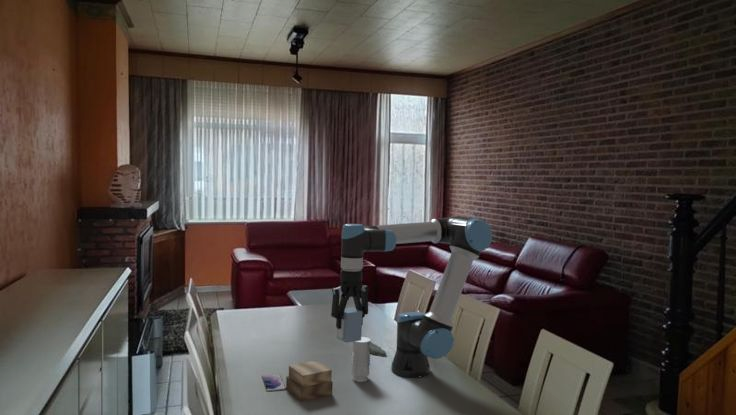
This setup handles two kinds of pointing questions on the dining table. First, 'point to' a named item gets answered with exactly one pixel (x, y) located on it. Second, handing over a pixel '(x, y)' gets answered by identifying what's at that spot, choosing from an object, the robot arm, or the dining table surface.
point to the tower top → (310, 373)
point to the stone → (376, 350)
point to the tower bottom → (308, 390)
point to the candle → (361, 359)
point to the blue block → (352, 325)
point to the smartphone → (273, 382)
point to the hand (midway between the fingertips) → (349, 336)
